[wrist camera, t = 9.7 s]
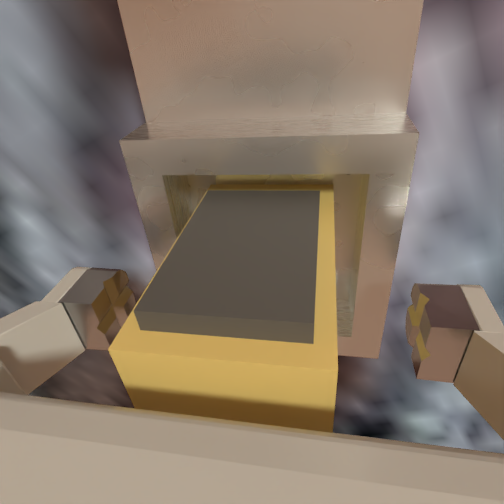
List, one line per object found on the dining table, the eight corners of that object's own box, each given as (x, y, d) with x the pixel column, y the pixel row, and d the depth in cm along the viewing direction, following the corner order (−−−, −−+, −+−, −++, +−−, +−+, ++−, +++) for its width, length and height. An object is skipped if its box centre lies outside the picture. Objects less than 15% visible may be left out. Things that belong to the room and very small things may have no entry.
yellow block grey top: (334, 169, 11) (339, 349, 5) (328, 282, 14) (327, 485, 8) (208, 170, 12) (99, 329, 6) (225, 277, 14) (158, 460, 9)
